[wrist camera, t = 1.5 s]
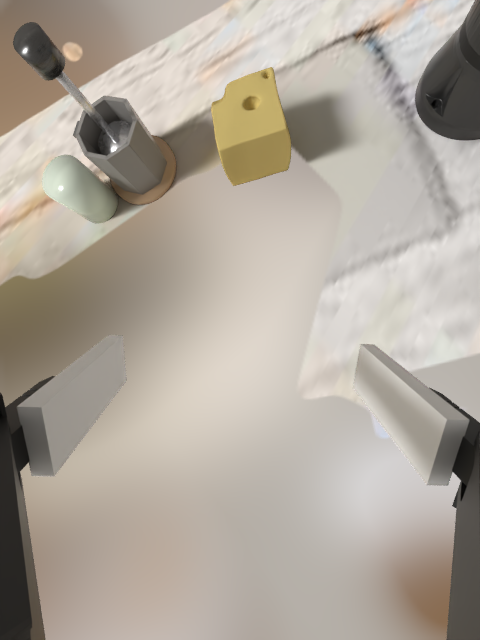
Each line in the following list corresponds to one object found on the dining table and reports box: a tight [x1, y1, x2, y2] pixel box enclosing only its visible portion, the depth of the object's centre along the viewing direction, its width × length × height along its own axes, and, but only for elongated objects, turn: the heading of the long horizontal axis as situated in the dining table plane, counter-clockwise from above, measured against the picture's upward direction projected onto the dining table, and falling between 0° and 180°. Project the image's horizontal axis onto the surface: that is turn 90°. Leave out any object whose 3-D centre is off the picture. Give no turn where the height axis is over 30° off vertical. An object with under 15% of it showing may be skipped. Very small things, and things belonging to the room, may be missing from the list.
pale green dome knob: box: [42, 155, 118, 223], centre depth 50 cm, size 8×10×9 cm
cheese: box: [211, 67, 291, 186], centre depth 44 cm, size 10×11×10 cm
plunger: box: [13, 22, 131, 156], centre depth 37 cm, size 6×6×16 cm
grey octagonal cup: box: [73, 96, 176, 205], centre depth 47 cm, size 13×13×11 cm
